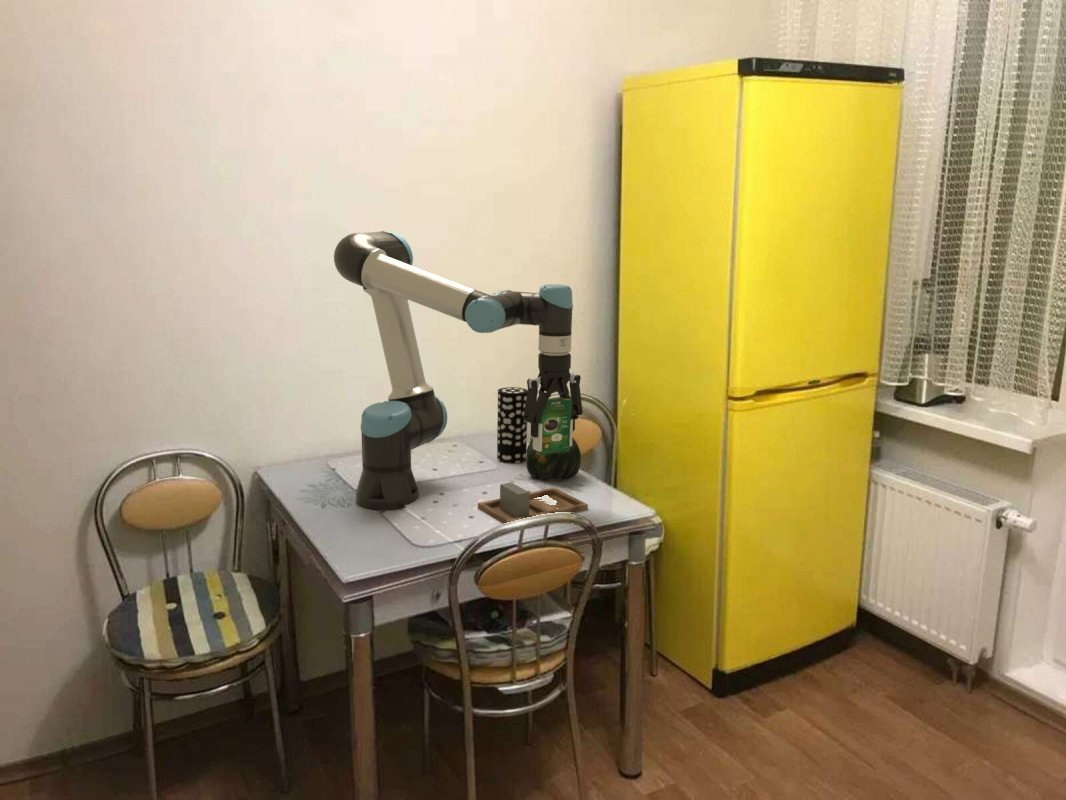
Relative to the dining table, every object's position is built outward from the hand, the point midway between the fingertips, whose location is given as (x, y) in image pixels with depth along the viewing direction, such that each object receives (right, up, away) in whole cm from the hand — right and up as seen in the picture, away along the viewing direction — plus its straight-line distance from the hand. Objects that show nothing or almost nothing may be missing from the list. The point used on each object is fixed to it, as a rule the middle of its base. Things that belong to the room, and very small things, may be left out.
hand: (552, 447), depth 203 cm
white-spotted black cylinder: (-11, -6, +41) cm, 43 cm away
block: (-9, -15, -2) cm, 18 cm away
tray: (-5, -15, +1) cm, 16 cm away
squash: (+1, -10, +26) cm, 28 cm away
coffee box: (0, -1, 0) cm, 1 cm away
